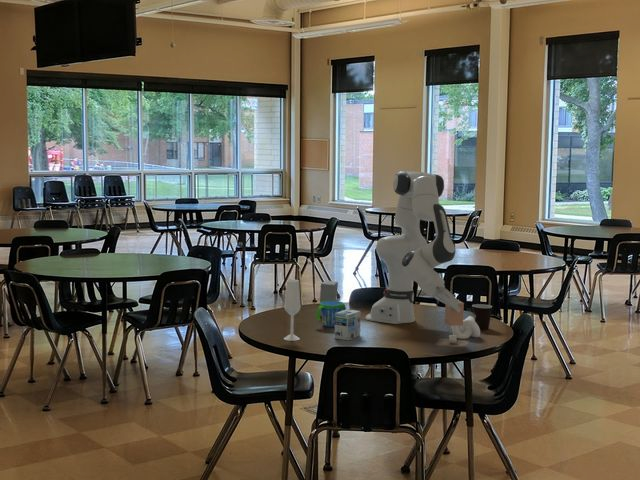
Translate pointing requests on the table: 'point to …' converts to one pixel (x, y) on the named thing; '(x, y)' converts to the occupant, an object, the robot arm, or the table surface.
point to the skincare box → (328, 291)
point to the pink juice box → (454, 315)
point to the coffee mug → (482, 315)
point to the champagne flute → (292, 304)
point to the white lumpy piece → (467, 329)
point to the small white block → (453, 339)
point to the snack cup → (329, 312)
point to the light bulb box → (347, 324)
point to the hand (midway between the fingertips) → (455, 309)
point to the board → (446, 343)
